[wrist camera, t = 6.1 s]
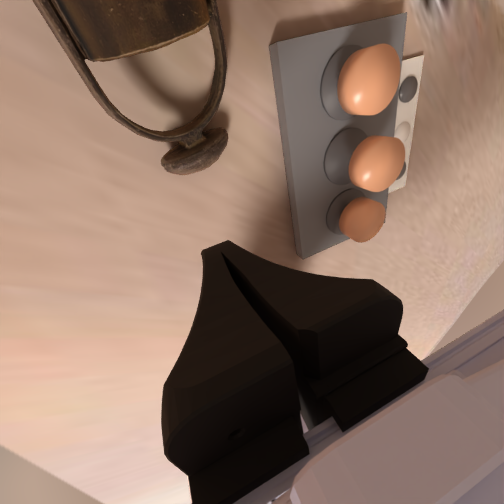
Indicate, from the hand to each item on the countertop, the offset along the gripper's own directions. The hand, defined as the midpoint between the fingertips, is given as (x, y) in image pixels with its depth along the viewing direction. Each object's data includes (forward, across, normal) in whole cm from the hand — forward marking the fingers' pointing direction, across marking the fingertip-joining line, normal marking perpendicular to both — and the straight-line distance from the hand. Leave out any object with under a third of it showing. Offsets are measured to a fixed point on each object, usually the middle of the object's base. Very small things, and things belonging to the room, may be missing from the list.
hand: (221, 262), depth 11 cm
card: (+10, -22, +1) cm, 24 cm away
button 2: (+9, -15, -4) cm, 18 cm away
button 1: (+8, -15, +7) cm, 18 cm away
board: (+10, -15, +1) cm, 18 cm away
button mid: (+7, -15, +1) cm, 16 cm away
